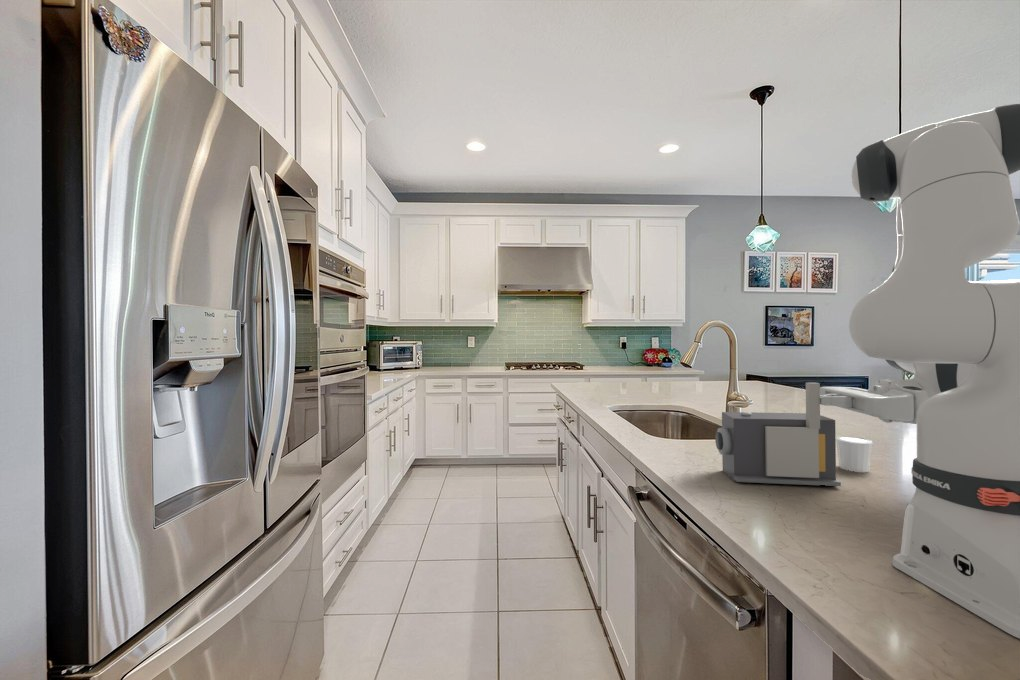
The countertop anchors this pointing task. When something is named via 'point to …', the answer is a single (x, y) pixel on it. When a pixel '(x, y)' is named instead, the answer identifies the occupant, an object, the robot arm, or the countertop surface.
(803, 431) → the side door
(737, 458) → the camera housing
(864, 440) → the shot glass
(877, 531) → the countertop surface
